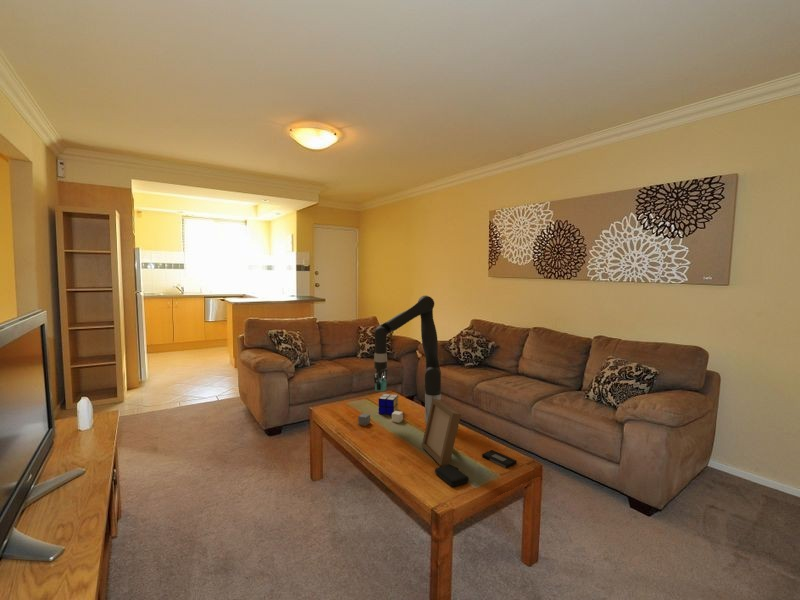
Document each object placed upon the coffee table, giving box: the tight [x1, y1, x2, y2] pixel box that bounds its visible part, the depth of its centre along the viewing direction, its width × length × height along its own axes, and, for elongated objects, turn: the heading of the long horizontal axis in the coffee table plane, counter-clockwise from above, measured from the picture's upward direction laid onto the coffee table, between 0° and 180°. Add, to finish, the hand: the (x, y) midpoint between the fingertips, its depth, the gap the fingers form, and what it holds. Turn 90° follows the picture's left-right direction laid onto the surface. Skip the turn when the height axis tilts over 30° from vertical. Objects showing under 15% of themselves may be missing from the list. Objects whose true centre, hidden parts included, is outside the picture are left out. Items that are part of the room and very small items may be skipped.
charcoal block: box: [357, 413, 371, 427], centre depth 232 cm, size 5×5×5 cm
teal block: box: [374, 380, 387, 392], centre depth 233 cm, size 5×5×5 cm
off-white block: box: [391, 410, 404, 424], centre depth 237 cm, size 5×5×5 cm
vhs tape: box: [481, 449, 518, 470], centre depth 188 cm, size 8×14×2 cm, turn 39°
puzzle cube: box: [378, 393, 399, 416], centre depth 251 cm, size 10×10×10 cm
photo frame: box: [421, 399, 462, 467], centre depth 192 cm, size 15×22×25 cm
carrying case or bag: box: [434, 464, 470, 488], centre depth 172 cm, size 11×3×15 cm
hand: (380, 388), depth 233 cm, fingers closed on teal block, 5 cm apart
